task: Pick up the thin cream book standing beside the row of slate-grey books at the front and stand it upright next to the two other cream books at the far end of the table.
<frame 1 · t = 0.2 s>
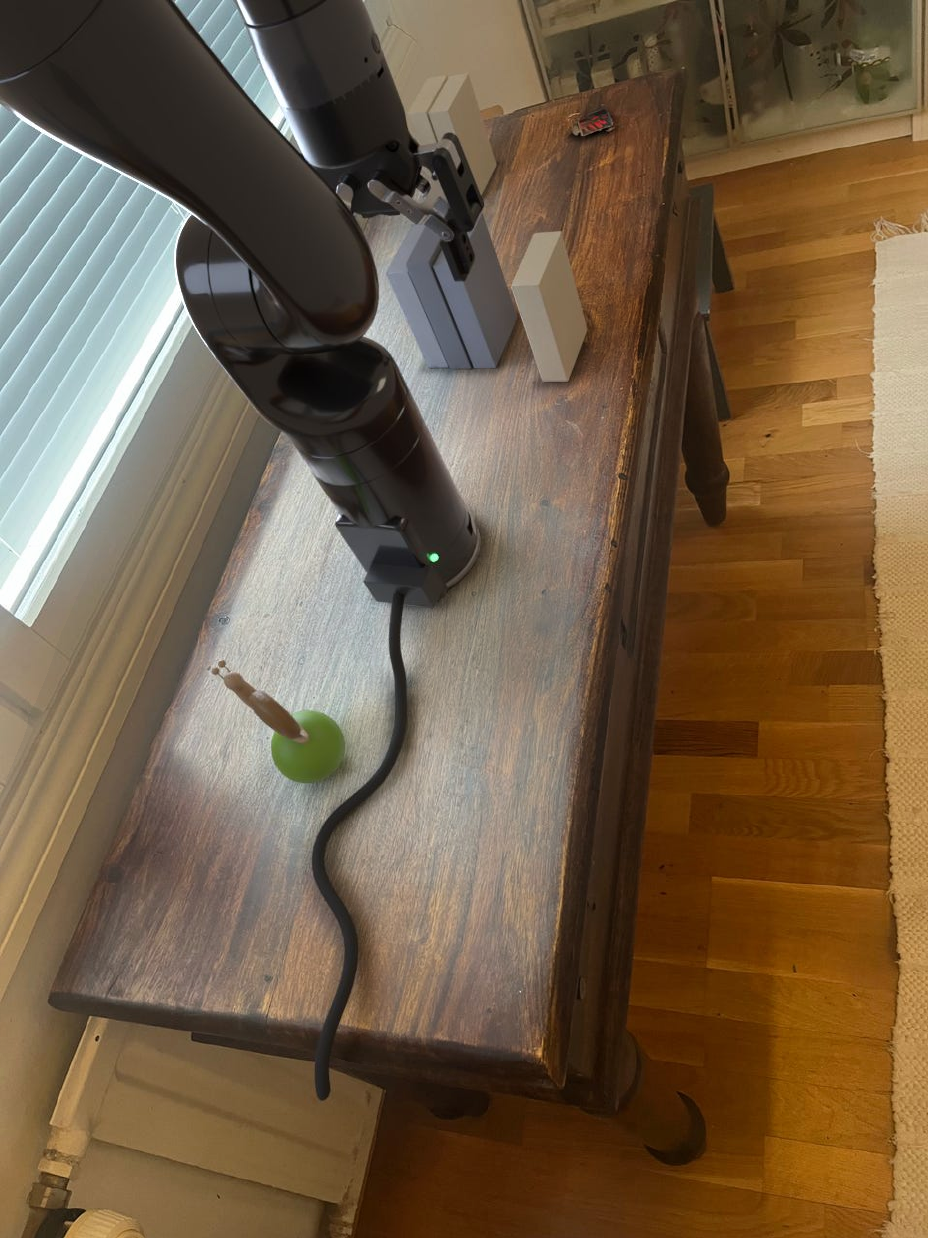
hand: (415, 277, 72), 17 cm above the table, tool pointing down, fingers open, 8 cm apart
cream books: (468, 185, 110), on the table
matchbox: (593, 127, 109), on the table
snail figurine: (320, 760, 72), on the table
grey books: (472, 342, 94), on the table
cream book: (565, 355, 88), on the table
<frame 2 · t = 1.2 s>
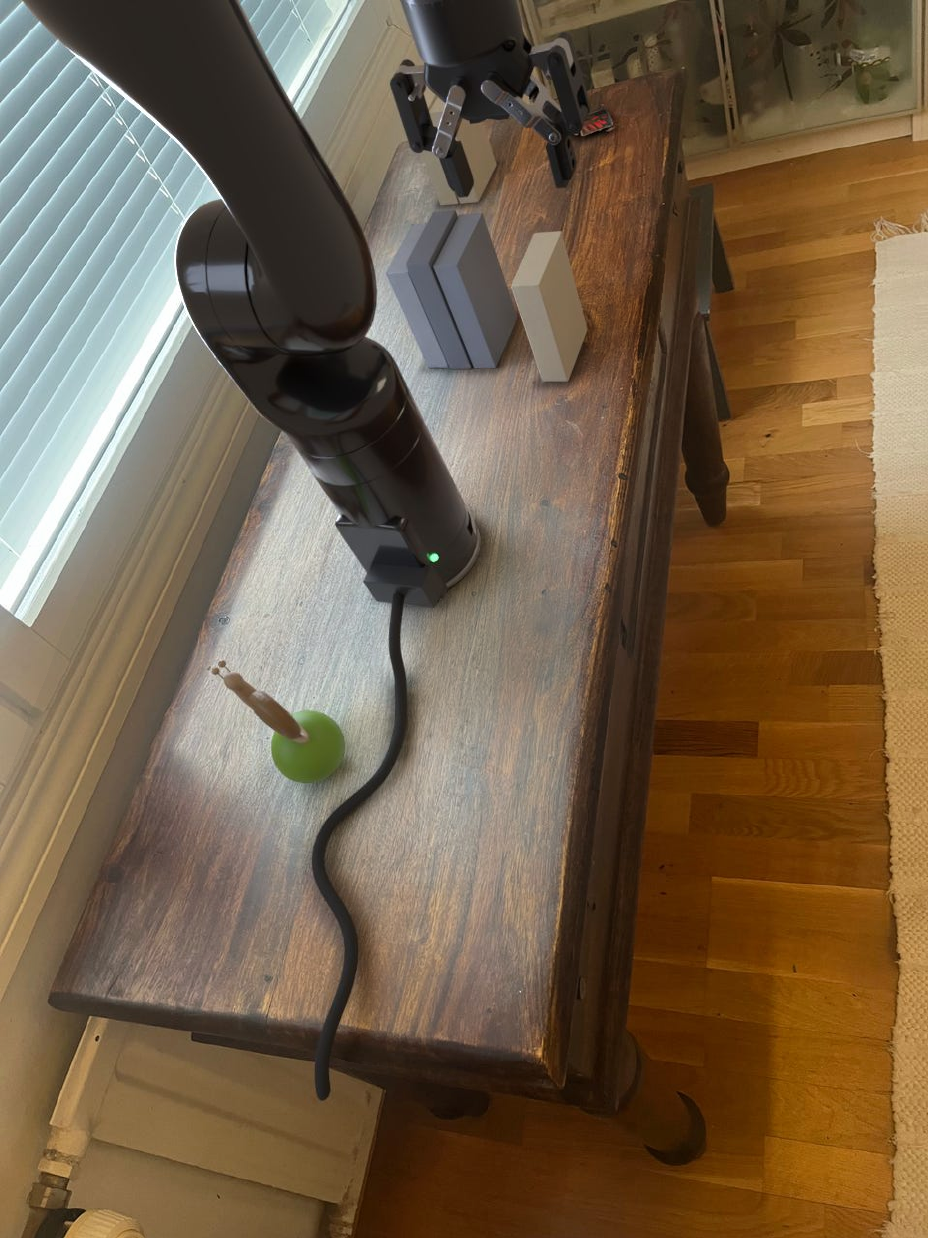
hand: (515, 186, 74), 18 cm above the table, tool pointing down, fingers open, 8 cm apart
nothing on the table moved.
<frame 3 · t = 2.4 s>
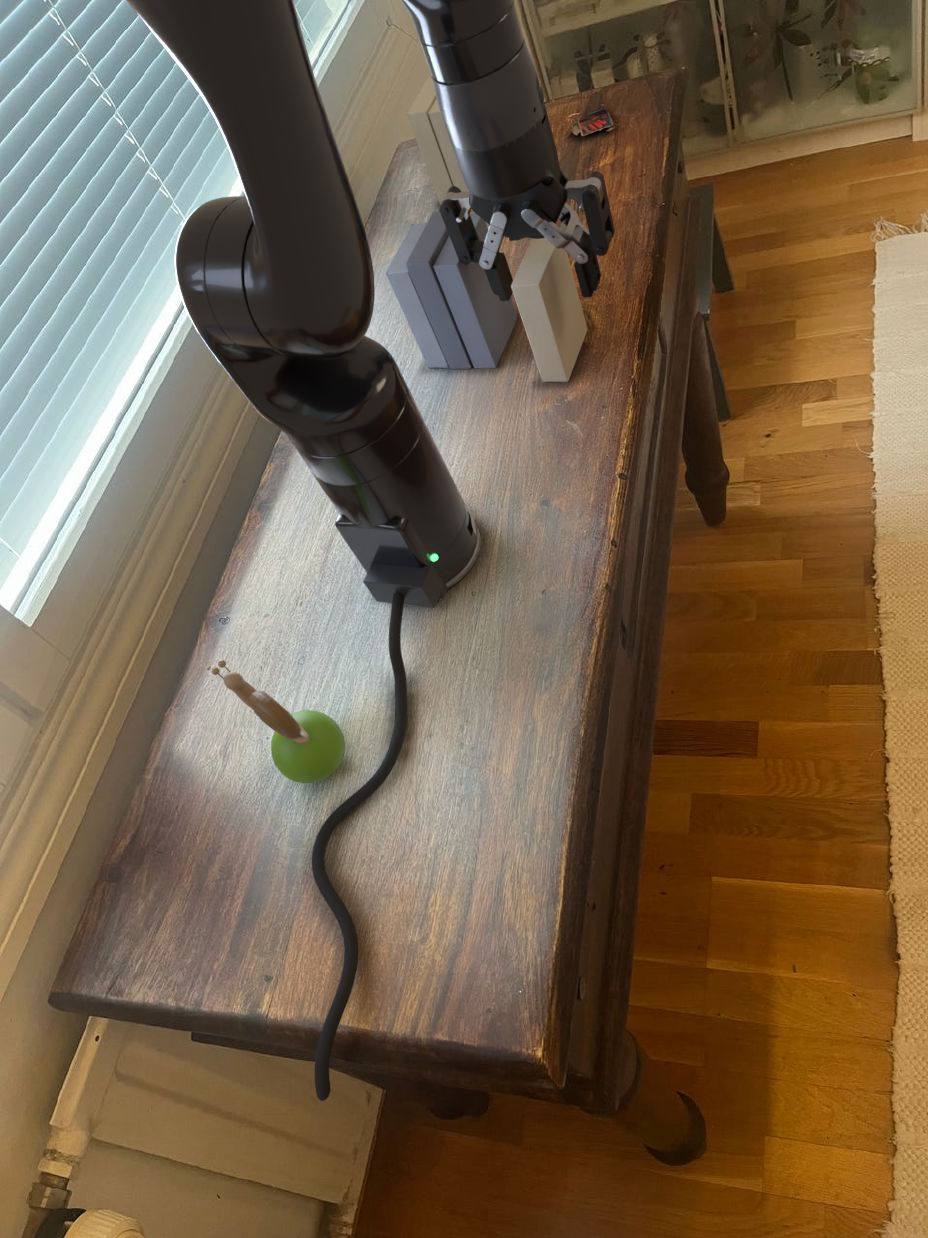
hand: (548, 292, 83), 7 cm above the table, tool pointing down, fingers open, 7 cm apart
nothing on the table moved.
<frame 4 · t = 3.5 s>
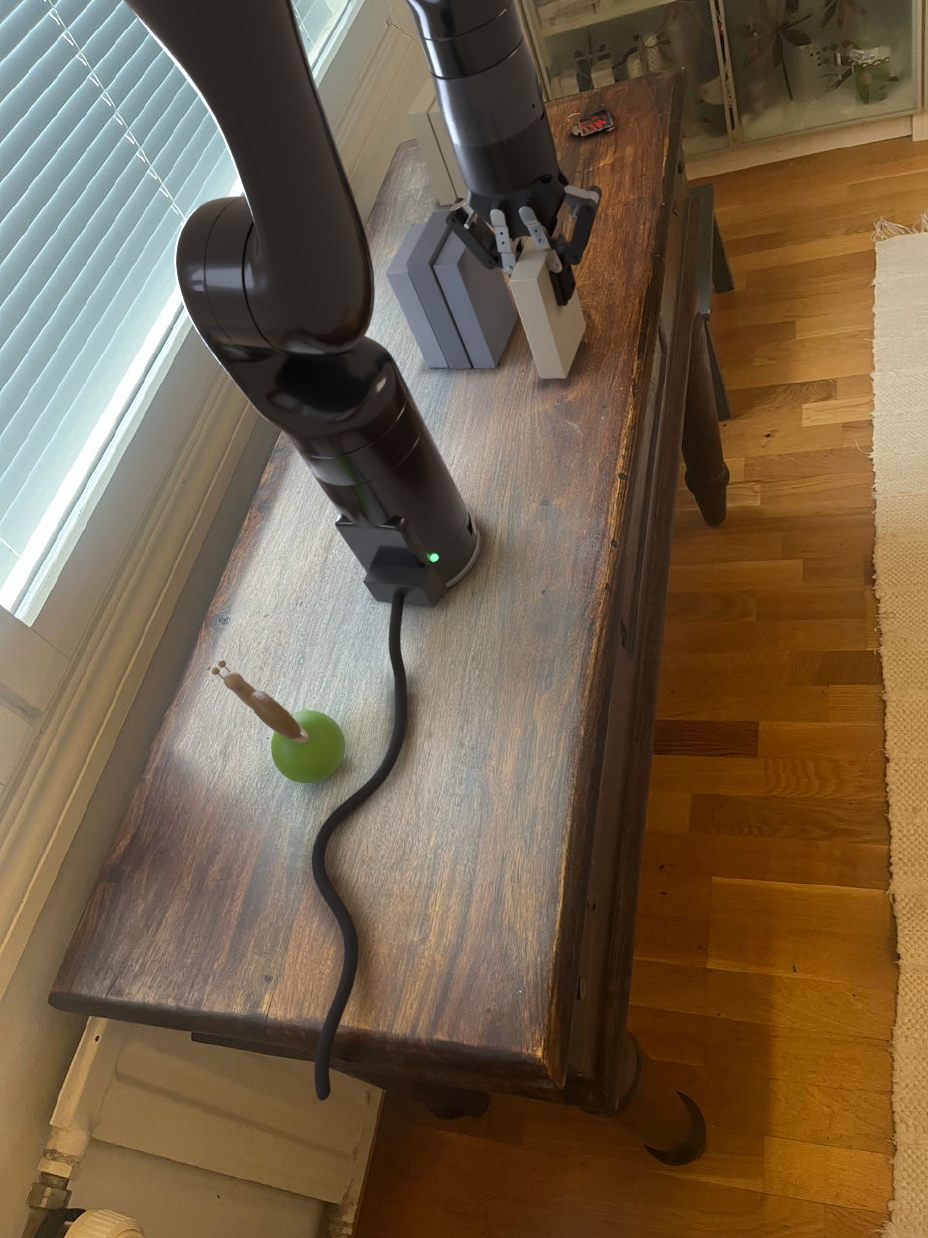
hand: (548, 299, 83), 7 cm above the table, tool pointing down, fingers closed on cream book, 2 cm apart
cream book: (563, 352, 88), point 1 cm above the table, touching gripper
everything else where it was.
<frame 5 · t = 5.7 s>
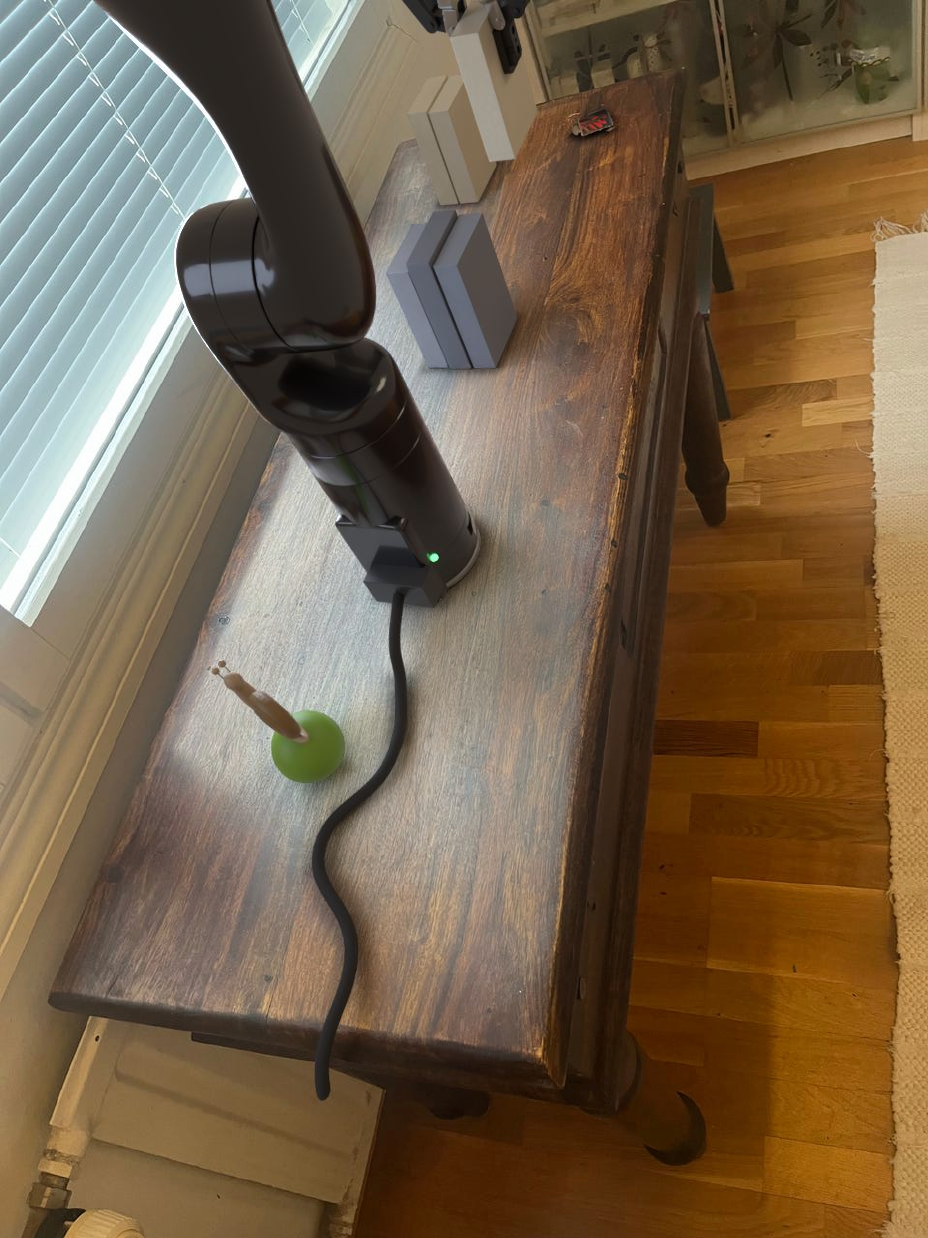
hand: (494, 70, 80), 21 cm above the table, tool pointing down, fingers closed on cream book, 2 cm apart
cream book: (513, 136, 85), point 15 cm above the table, touching gripper
everything else where it was.
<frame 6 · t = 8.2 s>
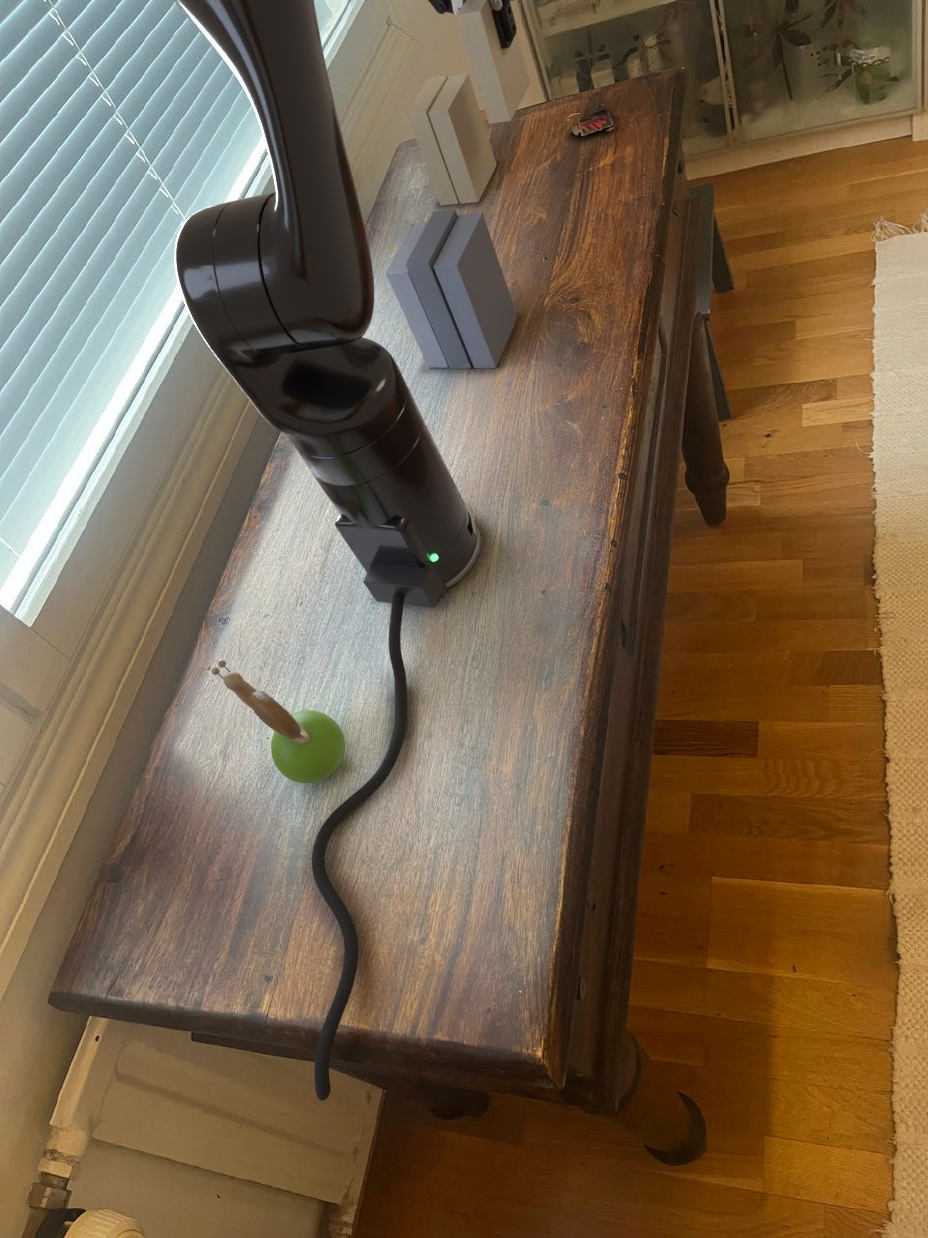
hand: (493, 45, 95), 15 cm above the table, tool pointing down, fingers closed on cream book, 2 cm apart
cream book: (509, 103, 100), point 9 cm above the table, touching gripper
everything else where it was.
when the fingers open (6 cm above the table, at t = 10.5 s): cream book stays where it is, on the table.
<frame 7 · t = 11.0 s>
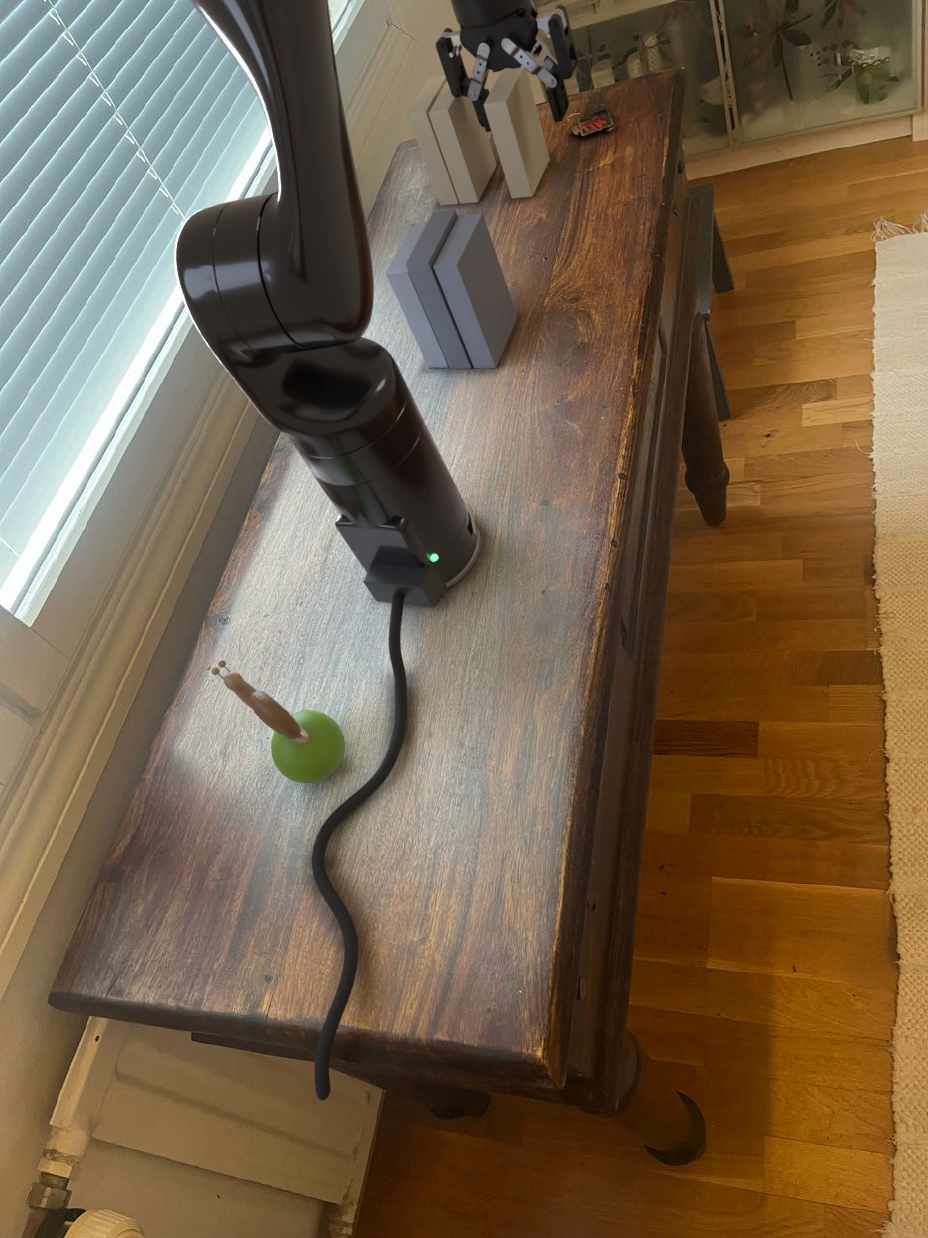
hand: (526, 122, 101), 7 cm above the table, tool pointing down, fingers open, 7 cm apart
cream book: (531, 178, 107), on the table
everything else where it was.
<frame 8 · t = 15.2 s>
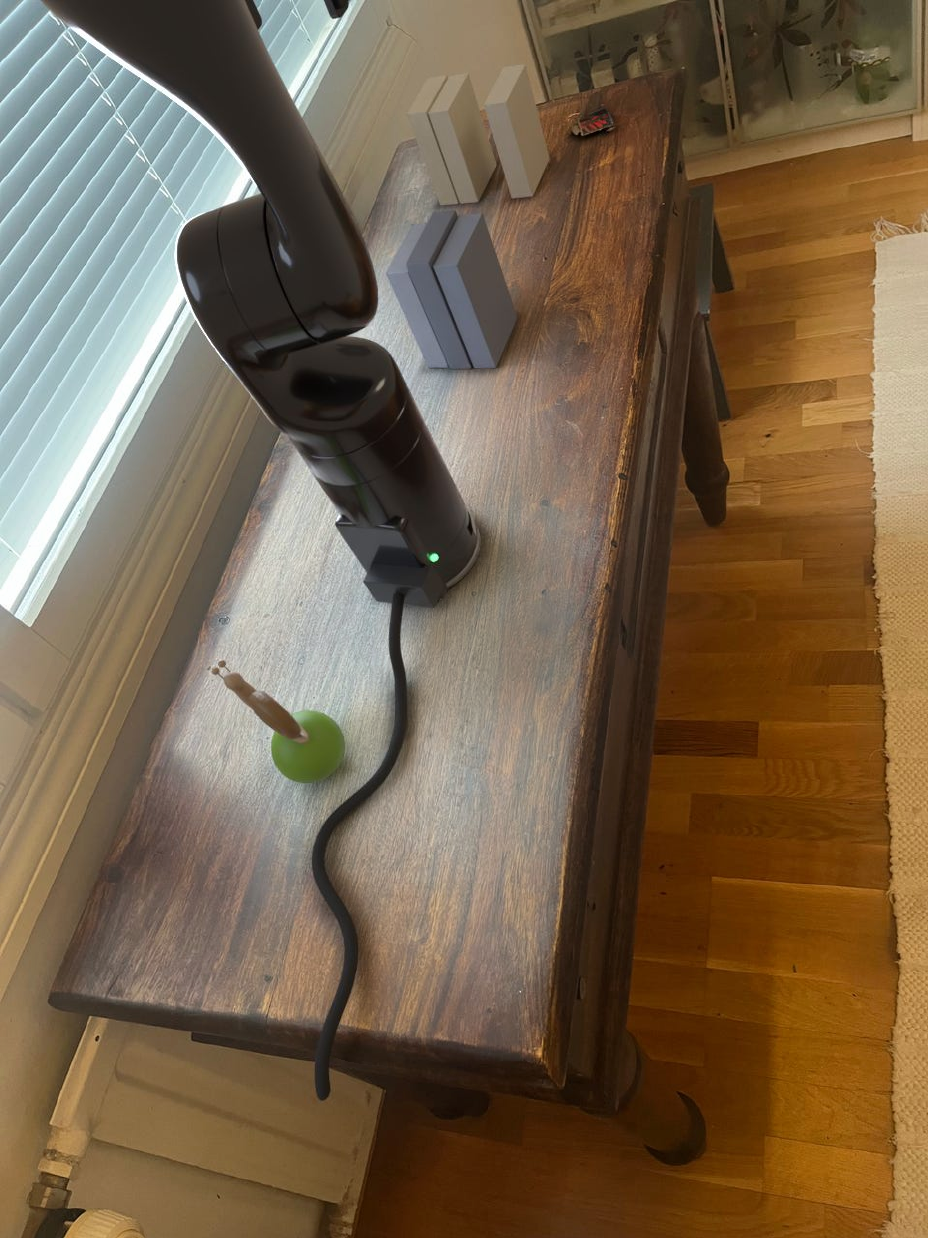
hand: (297, 21, 75), 30 cm above the table, tool pointing down, fingers open, 8 cm apart
nothing on the table moved.
at the end: cream book 0.1 cm from the target spot on the table beside the cream books, on the table; cream book tilted 0°; the gripper is holding nothing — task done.
